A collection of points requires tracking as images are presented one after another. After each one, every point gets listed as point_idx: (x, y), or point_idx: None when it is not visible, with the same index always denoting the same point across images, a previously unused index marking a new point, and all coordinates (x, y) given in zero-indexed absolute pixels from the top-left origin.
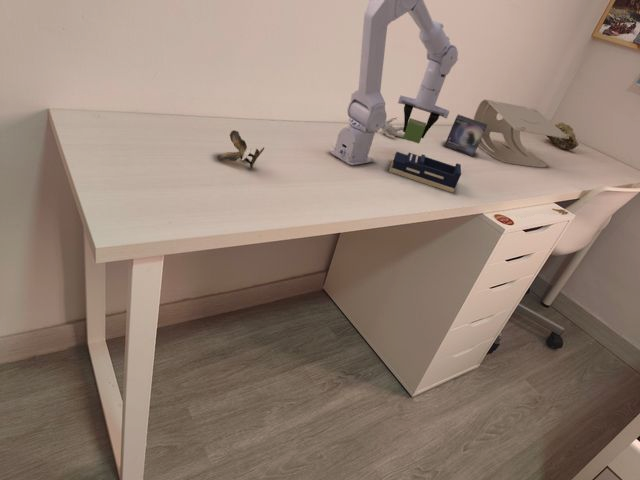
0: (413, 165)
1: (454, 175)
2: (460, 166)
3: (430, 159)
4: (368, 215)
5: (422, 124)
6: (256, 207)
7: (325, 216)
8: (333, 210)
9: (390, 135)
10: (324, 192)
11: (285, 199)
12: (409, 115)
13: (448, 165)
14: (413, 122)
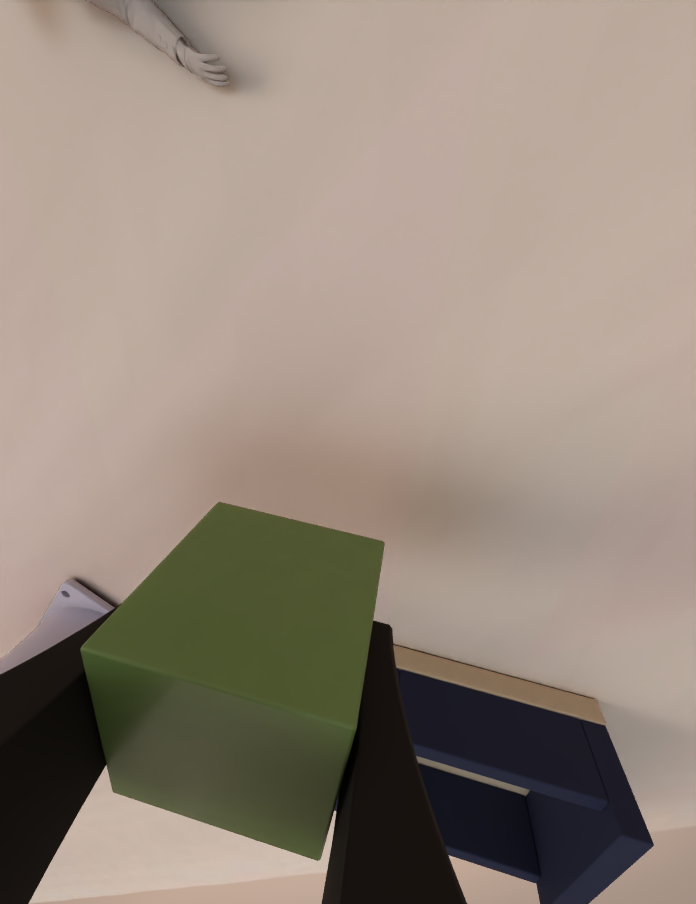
0: None
1: (535, 879)
2: (629, 865)
3: (431, 760)
4: (232, 878)
5: (284, 802)
6: (66, 863)
7: (162, 879)
8: (167, 867)
9: (173, 54)
10: (127, 825)
11: (84, 847)
12: (25, 886)
13: (554, 796)
14: (164, 787)
